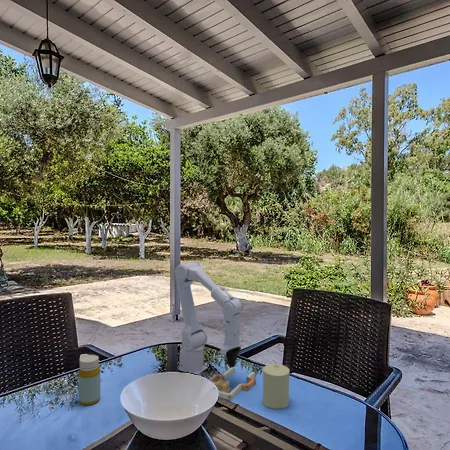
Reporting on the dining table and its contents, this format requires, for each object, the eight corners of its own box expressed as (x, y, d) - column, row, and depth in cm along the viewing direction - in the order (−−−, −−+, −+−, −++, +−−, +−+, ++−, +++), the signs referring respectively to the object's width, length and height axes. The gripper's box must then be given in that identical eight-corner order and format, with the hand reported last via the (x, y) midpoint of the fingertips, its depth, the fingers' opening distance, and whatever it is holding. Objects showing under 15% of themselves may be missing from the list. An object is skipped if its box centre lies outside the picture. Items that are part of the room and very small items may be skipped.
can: (288, 395, 134) (288, 363, 133) (290, 409, 125) (290, 375, 124) (262, 394, 135) (262, 361, 134) (262, 408, 125) (263, 373, 125)
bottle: (104, 398, 131) (104, 356, 130) (89, 408, 124) (89, 364, 123) (89, 393, 134) (89, 352, 133) (74, 403, 127) (73, 360, 126)
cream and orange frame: (200, 391, 136) (200, 386, 136) (227, 369, 154) (227, 365, 154) (236, 402, 129) (236, 397, 129) (260, 378, 147) (260, 373, 146)
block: (214, 394, 134) (214, 383, 134) (220, 389, 138) (220, 378, 138) (224, 397, 132) (224, 386, 132) (229, 392, 136) (229, 381, 136)
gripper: (232, 339, 132) (231, 376, 133) (250, 327, 144) (249, 361, 145) (215, 335, 135) (214, 371, 136) (234, 324, 148) (233, 357, 149)
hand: (231, 366), depth 141 cm, fingers closed
